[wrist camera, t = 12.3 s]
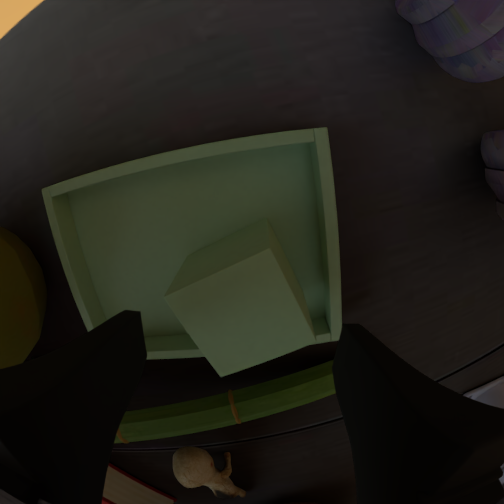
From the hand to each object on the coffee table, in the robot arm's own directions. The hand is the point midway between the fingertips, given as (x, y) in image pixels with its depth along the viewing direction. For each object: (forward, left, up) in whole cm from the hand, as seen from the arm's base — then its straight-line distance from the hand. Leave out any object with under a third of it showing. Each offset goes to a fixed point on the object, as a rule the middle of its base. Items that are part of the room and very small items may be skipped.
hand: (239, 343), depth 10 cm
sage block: (0, 0, -6) cm, 6 cm away
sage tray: (+3, -2, -6) cm, 7 cm away
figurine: (+6, +19, -6) cm, 21 cm away
